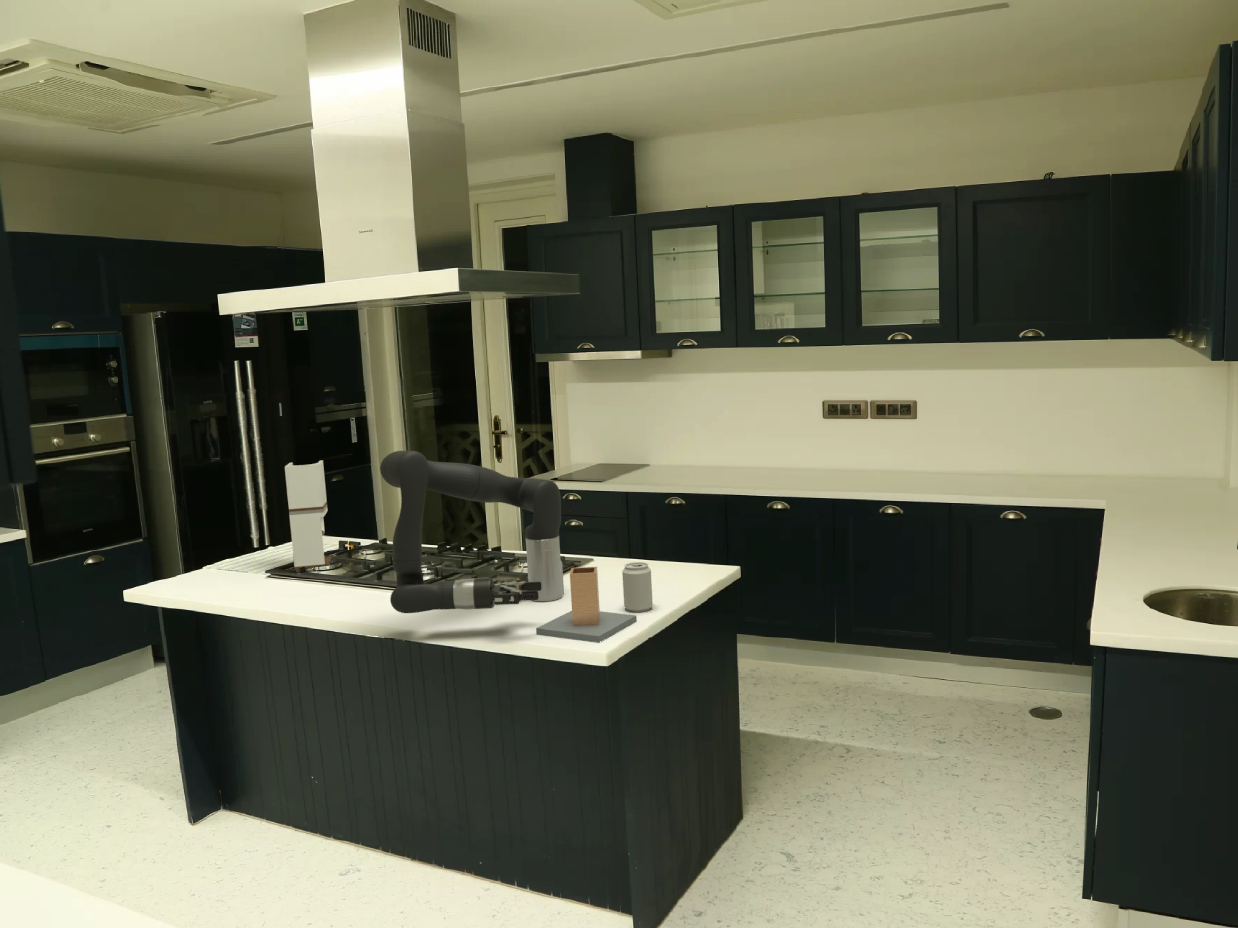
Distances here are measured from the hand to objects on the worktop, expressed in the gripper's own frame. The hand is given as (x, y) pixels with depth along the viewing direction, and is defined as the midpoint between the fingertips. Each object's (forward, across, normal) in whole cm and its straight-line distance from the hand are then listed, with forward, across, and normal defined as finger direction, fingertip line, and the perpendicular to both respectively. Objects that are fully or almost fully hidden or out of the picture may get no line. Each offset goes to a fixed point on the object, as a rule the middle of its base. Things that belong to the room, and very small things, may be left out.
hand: (539, 590), depth 239 cm
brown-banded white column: (-83, +83, +10) cm, 118 cm away
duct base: (+11, 0, +10) cm, 15 cm away
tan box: (+11, 0, +8) cm, 14 cm away
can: (+24, +14, +10) cm, 30 cm away
